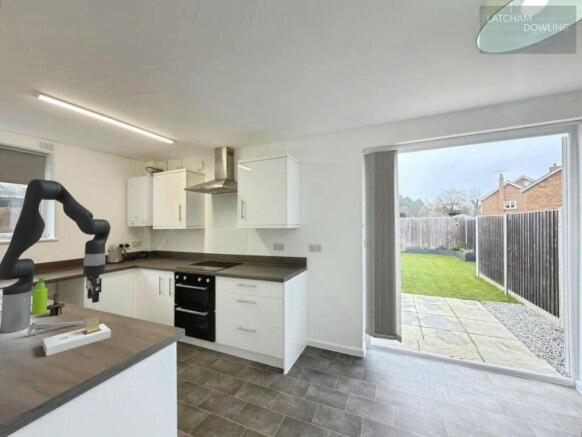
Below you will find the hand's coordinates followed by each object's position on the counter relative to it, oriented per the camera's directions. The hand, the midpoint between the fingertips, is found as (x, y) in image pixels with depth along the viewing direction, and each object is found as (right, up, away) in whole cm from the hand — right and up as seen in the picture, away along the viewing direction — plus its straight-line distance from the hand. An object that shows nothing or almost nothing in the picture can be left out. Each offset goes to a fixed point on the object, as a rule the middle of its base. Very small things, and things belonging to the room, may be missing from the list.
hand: (92, 300), depth 105 cm
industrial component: (-44, -18, +28) cm, 55 cm away
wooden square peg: (0, -16, -1) cm, 16 cm away
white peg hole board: (-3, -16, -4) cm, 17 cm away
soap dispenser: (-56, -18, +30) cm, 66 cm away
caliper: (-23, -17, +8) cm, 29 cm away
